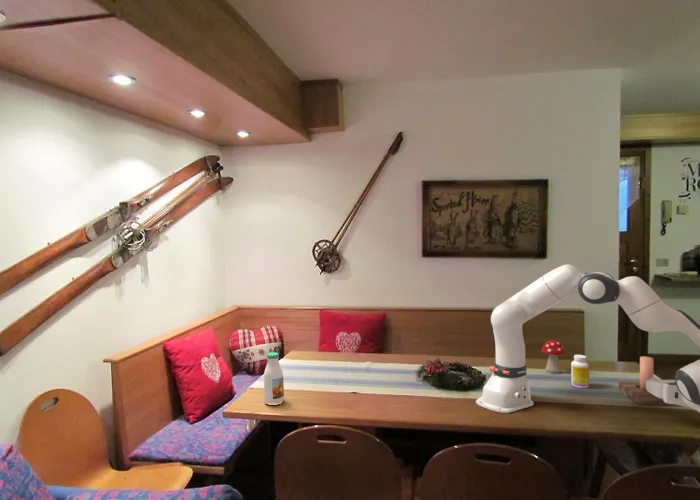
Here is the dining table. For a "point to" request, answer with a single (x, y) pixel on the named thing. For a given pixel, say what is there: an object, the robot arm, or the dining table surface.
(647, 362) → the peg
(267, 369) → the milk bottle
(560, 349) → the decorative mushroom
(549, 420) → the dining table surface
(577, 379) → the supplement bottle
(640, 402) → the socket
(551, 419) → the dining table surface
